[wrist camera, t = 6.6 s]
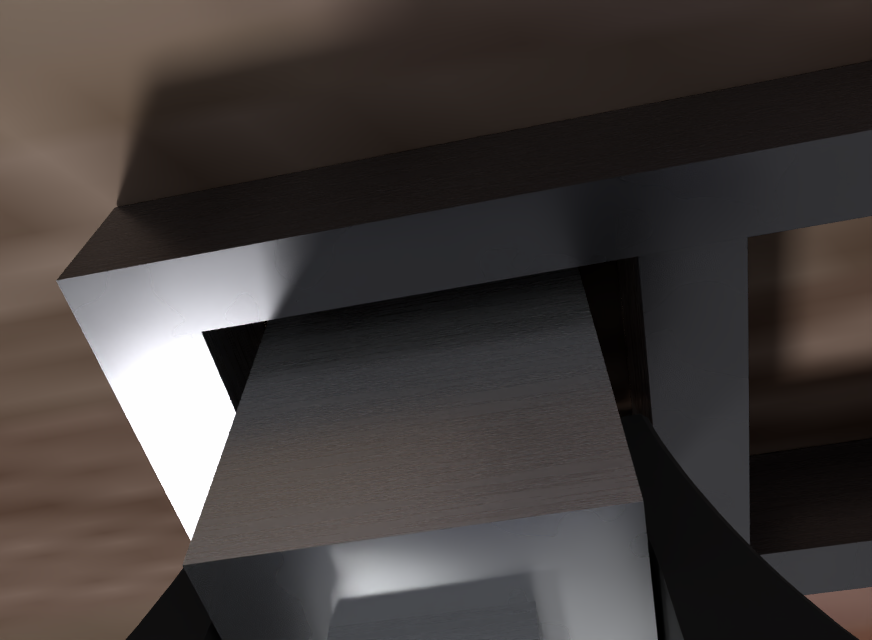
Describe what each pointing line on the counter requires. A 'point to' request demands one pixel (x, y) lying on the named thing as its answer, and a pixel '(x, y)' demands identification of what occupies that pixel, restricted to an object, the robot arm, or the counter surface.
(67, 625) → the counter surface
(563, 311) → the block
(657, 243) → the grey flat rectangular frame
